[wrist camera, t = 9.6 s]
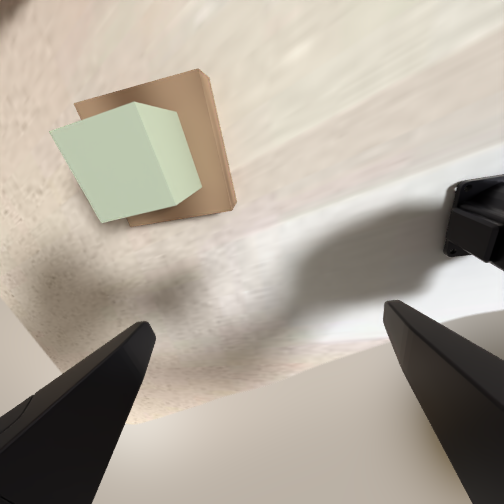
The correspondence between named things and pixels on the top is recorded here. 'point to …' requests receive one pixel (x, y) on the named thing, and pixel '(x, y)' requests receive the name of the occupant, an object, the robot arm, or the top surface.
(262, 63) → the top surface
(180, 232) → the top surface
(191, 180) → the sage cube
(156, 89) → the walnut slab
